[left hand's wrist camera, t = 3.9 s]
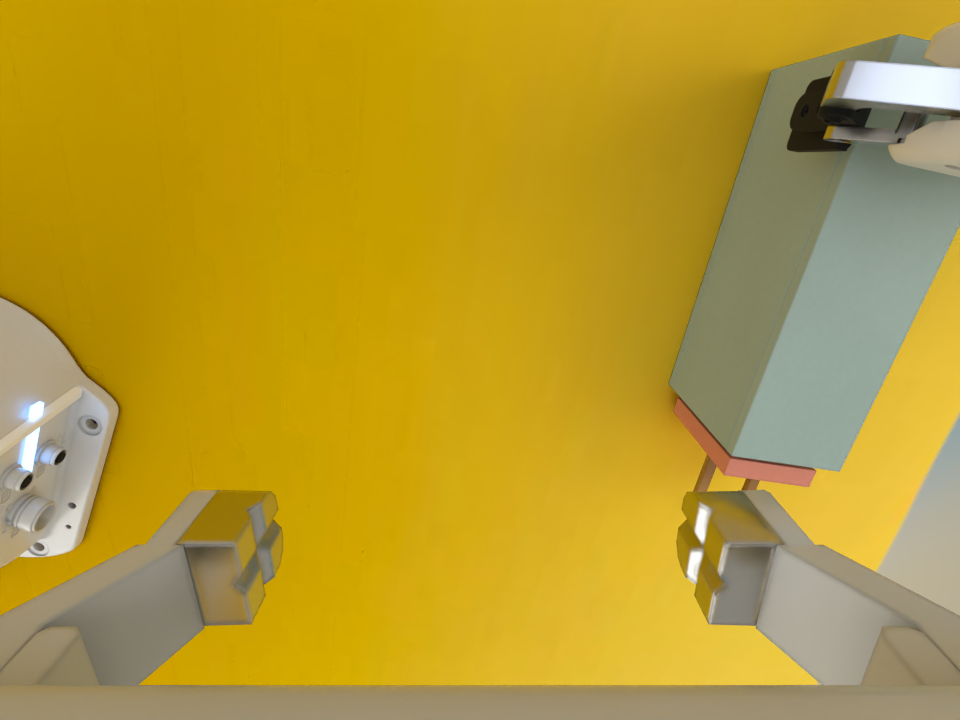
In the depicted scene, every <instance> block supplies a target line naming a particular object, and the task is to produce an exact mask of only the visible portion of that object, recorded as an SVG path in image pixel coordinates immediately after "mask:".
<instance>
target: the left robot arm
mask: <svg viewBox="0 0 960 720" xmlns="http://www.w3.org/2000/svg"><path fill="white" fill-rule="evenodd" d="M118 414H119V408H118V405H117V403H116V402H115V400H114V399H113V398H112V397H111V396H110V395H109V394H108V393H107V392H106V391H104V390H103V389H102V388H101V387H99V386H98V385H97V384H96V383H94V382H93V381H92V380H90V379H89V378H88V377H87V376H86V375H85V374H84V373H83V372H82V370H81V369H80V368H79V366H78V365H77V363H76V362H75V360H74V359H73V357H72V356H71V354H70V353H69V351H68V350H67V349H66V347H65V346H64V345H63V344H62V342H61V341H60V340H59V339H58V338H57V337H56V336H55V335H54V334H53V332H51V331H50V330H49V329H48V328H47V327H46V326H45V325H44V324H43V323H41V322H40V321H39V320H38V319H37V318H35V317H34V316H33V315H31V314H30V313H28V312H27V311H25V310H24V309H22V308H20V307H19V306H17V305H15V304H13V303H11V302H9V301H7V300H5V299H3V298H1V297H0V568H1V567H3V566H5V565H7V564H8V563H10V562H12V561H13V560H14V559H16V558H17V557H46V556H54V555H59V554H63V553H66V552H70V551H72V550H73V549H74V548H76V547H77V546H78V545H79V544H80V543H81V542H82V540H83V538H84V534H85V531H86V527H87V524H88V520H89V517H90V513H91V510H92V506H93V503H94V499H95V496H96V492H97V489H98V485H99V481H100V478H101V474H102V471H103V467H104V464H105V460H106V457H107V453H108V450H109V446H110V443H111V439H112V435H113V432H114V428H115V425H116V421H117V418H118ZM92 419H93V420H95V421H96V422H97V424H95V423H94V422H93V420H92ZM277 511H278V505H277V500H276V495H275V494H274V493H272V492H271V491H236V490H222V491H220V490H196V491H193V492H190V493H189V495H188V496H187V497H186V498H185V499H184V500H183V502H182V503H181V504H180V505H179V506H178V507H177V508H176V510H175V511H174V512H173V513H172V514H171V515H170V517H169V518H168V519H167V520H166V521H165V522H164V524H163V525H162V526H161V527H160V528H159V529H158V531H157V532H156V533H155V534H154V535H153V536H152V538H151V539H150V540H149V541H148V542H147V543H146V544H145V545H136V546H134V547H132V548H130V549H128V550H126V551H124V552H122V553H120V554H118V555H116V556H115V557H113V558H111V559H109V560H107V561H105V562H103V563H101V564H99V565H97V566H95V567H93V568H91V569H89V570H87V571H86V572H84V573H82V574H80V575H78V576H76V577H74V578H72V579H70V580H68V581H66V582H64V583H62V584H60V585H58V586H57V587H55V588H53V589H51V590H49V591H47V592H45V593H43V594H41V595H39V596H37V597H35V598H33V599H31V600H30V601H28V602H26V603H24V604H22V605H20V606H18V607H16V608H14V609H12V610H10V611H8V612H6V613H4V614H2V615H1V616H0V720H960V616H959V615H957V614H955V613H953V612H951V611H949V610H948V609H946V608H944V607H942V606H940V605H938V604H936V603H934V602H932V601H930V600H928V599H926V598H924V597H922V596H921V595H919V594H917V593H915V592H913V591H911V590H909V589H907V588H905V587H903V586H901V585H899V584H897V583H895V582H894V581H892V580H890V579H888V578H886V577H884V576H882V575H880V574H878V573H876V572H874V571H872V570H870V569H869V568H867V567H865V566H863V565H861V564H859V563H857V562H855V561H853V560H851V559H849V558H847V557H845V556H844V555H842V554H840V553H838V552H836V551H834V550H832V549H830V548H828V547H826V546H824V545H815V544H814V543H813V542H812V541H811V540H810V539H809V538H808V536H807V535H806V534H805V533H804V532H803V531H802V529H801V528H800V527H799V526H798V525H797V524H796V522H795V521H794V520H793V519H792V518H791V517H790V515H789V514H788V513H787V512H786V511H785V510H784V509H783V507H782V506H781V505H780V504H779V503H778V502H777V500H776V499H775V498H774V497H773V496H772V495H771V493H769V492H767V491H765V490H741V491H718V492H687V493H686V495H685V497H684V499H683V504H682V511H683V513H684V514H685V516H686V518H687V520H686V521H685V522H684V523H683V524H682V525H681V526H680V527H679V528H678V535H677V553H678V559H679V562H680V566H681V568H682V571H683V573H684V575H685V577H686V578H688V579H689V580H690V581H692V582H693V583H694V584H696V589H695V595H694V596H695V598H696V600H697V602H698V604H699V606H700V608H701V610H702V612H703V614H704V616H705V618H706V620H707V622H708V624H716V625H751V626H756V629H758V630H759V631H760V632H761V633H762V634H763V635H765V636H766V637H767V638H768V639H769V640H770V641H772V642H773V643H774V644H775V645H776V646H777V647H779V648H780V649H781V650H782V651H783V652H784V653H786V654H787V655H788V656H789V657H790V658H791V659H792V660H794V661H795V662H796V663H797V664H798V665H799V666H801V667H802V668H803V669H804V670H805V671H806V672H808V673H809V674H810V675H811V676H812V677H813V678H815V679H816V680H817V681H818V682H819V683H820V684H822V685H139V684H140V683H141V682H142V681H143V680H144V679H146V678H147V677H148V676H149V675H150V674H151V673H153V672H154V671H155V670H156V669H157V668H158V667H160V666H161V665H162V664H163V663H164V662H165V661H167V660H168V659H169V658H170V657H171V656H172V655H174V654H175V653H176V652H177V651H178V650H179V649H181V648H182V647H183V646H184V645H185V644H186V643H188V642H189V641H190V640H191V639H192V638H193V637H195V636H196V635H197V634H198V633H199V632H200V631H202V630H203V629H204V626H209V625H243V624H252V622H253V620H254V618H255V616H256V614H257V612H258V610H259V608H260V606H261V604H262V602H263V600H264V598H265V596H266V594H265V589H264V584H266V583H267V582H268V581H270V580H271V579H272V578H274V577H275V575H276V573H277V570H278V568H279V566H280V562H281V558H282V553H283V534H282V528H281V527H280V526H279V525H278V524H277V523H276V522H275V521H274V520H273V518H274V516H275V514H276V513H277Z"/></svg>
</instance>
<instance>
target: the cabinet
mask: <svg viewBox="0 0 960 720" xmlns="http://www.w3.org/2000/svg"><path fill="white" fill-rule="evenodd" d="M929 43H930V41H929V40H924V39H920V38H915V37H910V36H906V35H901V34H898V35H895V36H891V37H888V38H884V39H880V40H876V41H873V42H869V43H866V44H862V45H859V46H855V47H852V48H848V49H845V50H841V51H838V52H834V53H831V54H827V55H824V56H820V57H817V58H813V59H810V60H806V61H802V62H799V63H795V64H792V65H788V66H785V67H781V68H778V69H774V70H772V71H771V74H770V77H769V80H768V83H767V86H766V89H765V92H764V95H763V98H762V101H761V104H760V107H759V110H758V113H757V116H756V120H755V123H754V126H753V129H752V132H751V135H750V138H749V141H748V144H747V147H746V150H745V153H744V156H743V159H742V162H741V165H740V168H739V171H738V174H737V177H736V180H735V183H734V186H733V190H732V193H731V196H730V199H729V202H728V205H727V208H726V211H725V214H724V217H723V220H722V223H721V226H720V229H719V232H718V235H717V238H716V241H715V244H714V247H713V250H712V253H711V256H710V259H709V263H708V266H707V269H706V272H705V275H704V278H703V281H702V284H701V287H700V290H699V293H698V296H697V299H696V302H695V305H694V308H693V311H692V314H691V317H690V320H689V323H688V326H687V329H686V333H685V336H684V339H683V342H682V345H681V348H680V351H679V354H678V357H677V360H676V363H675V366H674V369H673V372H672V375H671V378H670V381H669V385H670V386H671V387H672V388H673V389H674V391H675V392H676V393H677V394H678V395H679V396H680V397H681V399H682V400H683V401H684V402H685V403H686V404H687V405H688V407H689V408H690V409H691V410H692V411H693V412H694V413H695V415H696V416H697V417H698V418H699V419H700V420H701V421H702V423H703V424H704V425H705V426H706V427H707V428H708V429H709V431H710V432H711V433H712V434H713V435H714V436H715V438H716V439H717V440H718V441H719V442H720V443H721V444H722V446H723V447H724V448H725V449H726V450H727V451H728V452H729V453H730V455H731V456H735V457H742V458H749V459H756V460H763V461H770V462H777V463H784V464H790V465H797V466H804V467H811V468H818V469H825V470H832V471H838V472H839V471H840V470H841V468H842V466H843V464H844V462H845V460H846V458H847V456H848V454H849V452H850V450H851V447H852V445H853V443H854V441H855V439H856V437H857V435H858V433H859V431H860V429H861V427H862V425H863V423H864V421H865V419H866V417H867V415H868V413H869V411H870V409H871V406H872V404H873V402H874V400H875V398H876V396H877V394H878V392H879V390H880V388H881V386H882V384H883V382H884V380H885V378H886V376H887V374H888V372H889V370H890V368H891V365H892V363H893V361H894V359H895V357H896V355H897V353H898V351H899V349H900V347H901V345H902V343H903V341H904V339H905V337H906V335H907V333H908V331H909V329H910V326H911V324H912V322H913V320H914V318H915V316H916V314H917V312H918V310H919V308H920V306H921V304H922V302H923V300H924V298H925V296H926V294H927V292H928V290H929V288H930V285H931V283H932V281H933V279H934V277H935V275H936V273H937V271H938V269H939V267H940V265H941V263H942V261H943V259H944V257H945V255H946V253H947V251H948V249H949V247H950V244H951V242H952V240H953V238H954V236H955V234H956V232H957V230H958V228H959V226H960V177H956V176H951V175H947V174H943V173H938V172H934V171H929V170H925V169H920V168H916V167H911V166H907V165H903V164H900V163H897V162H895V160H894V159H893V158H892V156H891V155H890V152H889V150H888V147H882V146H870V145H858V144H852V145H851V146H850V147H849V148H848V149H847V151H838V152H794V151H789V150H787V143H788V140H789V137H790V134H791V131H792V129H791V128H790V119H791V116H792V113H793V110H794V107H795V105H796V103H797V101H798V100H799V98H800V97H801V96H802V95H803V94H805V91H806V89H807V87H808V85H809V84H810V82H811V81H813V80H815V79H820V78H824V77H828V76H831V74H832V72H833V70H834V69H835V68H836V66H837V64H838V62H840V61H844V60H861V61H874V62H887V63H900V64H913V65H926V66H939V65H937V64H935V63H932V62H930V61H928V60H926V59H924V58H923V56H924V54H925V52H926V50H927V48H928V46H929ZM903 113H904V111H894V110H885V109H875V108H872V110H871V112H870V115H869V117H868V120H867V122H866V125H865V127H869V128H884V129H897V127H898V125H899V122H900V120H901V117H902V115H903ZM950 117H951V116H941V115H932V114H929V117H928V119H927V121H926V124H925V125H927V124H929V123H931V122H933V121H944V120H949V119H950Z"/></svg>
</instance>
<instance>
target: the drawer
mask: <svg viewBox="0 0 960 720" xmlns="http://www.w3.org/2000/svg"><path fill="white" fill-rule="evenodd" d="M674 413H675V414H676V415H677V417H678V418H679V419H680V420H681V422H682V423H683V424H684V425H685V427H686V428H687V429H688V431H689V432H690V433H691V434H692V436H693V437H694V438H695V439H696V441H697V442H698V443H699V444H700V446H701V447H702V448H703V449H704V451H705V452H706V453H707V456H706V459H705V462H704V464H703V467H702V469H701V472H700V475H699V477H698V480H697V483H696V485H695V488H694V491H693V492H707V489H708V487H709V484H710V482H711V479H712V476H713V474H714V471H715V469H716V466H717V467H718V468H719V469H720V471H721V472H722V473H723V474H724V475H727V476H734V477H741V478H746V481H745V483H744V485H743V488H742V490H756V488H757V486H758V483H759V481H760V480H762V481H769V482H776V483H783V484H790V485H797V486H804V487H809V486H810V484H811V482H812V480H813V477H814V475H815V473H816V470H815V469H814V468H811V467H804V466H797V465H790V464H784V463H777V462H770V461H763V460H756V459H749V458H742V457H735V456H731V455H730V453H729V452H728V451H727V450H726V449H725V448H724V447H723V446H722V444H721V443H720V442H719V441H718V440H717V439H716V438H715V436H714V435H713V434H712V433H711V432H710V431H709V429H708V428H707V427H706V426H705V425H704V424H703V423H702V421H701V420H700V419H699V418H698V417H697V416H696V415H695V413H694V412H693V411H692V410H691V409H690V408H689V407H688V405H687V404H686V403H685V402H684V401H683V400H682V399H681V398H678V399H677V402H676V405H675V408H674Z"/></svg>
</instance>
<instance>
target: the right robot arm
mask: <svg viewBox="0 0 960 720" xmlns="http://www.w3.org/2000/svg"><path fill="white" fill-rule="evenodd" d="M923 58H924V59H926V60H928V61H930V62H932V63H935V64H937V65H939V66H926V65H913V64H900V63H887V62H874V61H861V60H844V61H840V62H838V64H837V66H836V68H835V69H834V70H833V72H832V74H831V76H828V77H824V78H820V79H815V80H813V81H811V82H810V84H809V85H808V87H807V89H806V91H805V94H803V95H802V96H801V97H800V98H799V100H798V101H797V103H796V105H795V107H794V110H793V113H792V116H791V119H790V128H791V129H792V131H791V134H790V137H789V140H788V143H787V150H789V151H794V152H838V151H847V149H848V148H849V147H850V146H851V145H852V144H858V145H870V146H882V147H888V150H889V152H890V155H891V156H892V158H893V159H894V160H895V162H897V163H900V164H903V165H907V166H911V167H916V168H920V169H925V170H929V171H934V172H938V173H943V174H947V175H951V176H956V177H960V22H957V23H954V24H951V25H949V26H947V27H945V28H943V29H942V30H940V31H938V32H937V33H936V34H934V35H933V37H932V39H931V41H930V43H929V46H928V48H927V50H926V52H925V54H924V56H923ZM872 108H875V109H885V110H894V111H904V113H903V115H902V117H901V120H900V122H899V125H898V127H897V129H884V128H869V127H865V125H866V122H867V120H868V117H869V115H870V112H871V110H872ZM929 114H932V115H941V116H951V117H950V119H949V120H944V121H933V122H931V123H929V124H927V125H925V124H926V121H927V119H928V117H929Z"/></svg>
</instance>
